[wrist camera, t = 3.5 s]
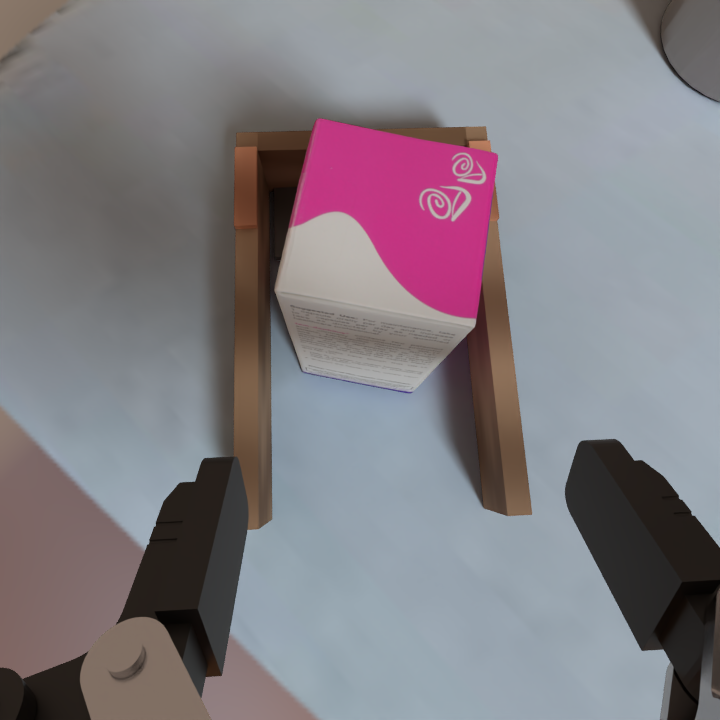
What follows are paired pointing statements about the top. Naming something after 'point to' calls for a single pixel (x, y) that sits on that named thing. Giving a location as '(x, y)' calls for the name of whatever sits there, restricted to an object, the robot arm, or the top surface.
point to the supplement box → (384, 254)
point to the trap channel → (253, 324)
